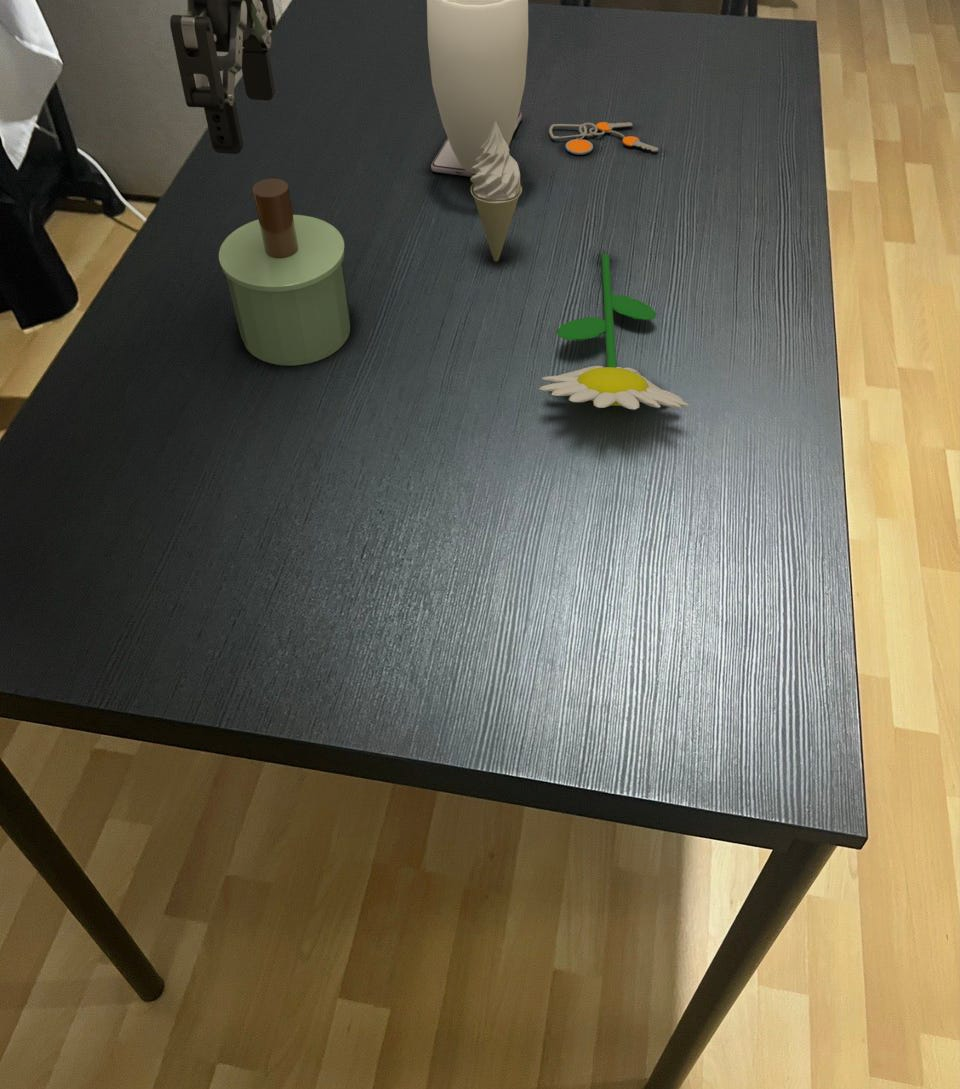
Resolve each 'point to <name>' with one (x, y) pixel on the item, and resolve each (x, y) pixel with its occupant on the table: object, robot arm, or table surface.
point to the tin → (293, 320)
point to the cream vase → (477, 69)
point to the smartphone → (453, 159)
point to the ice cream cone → (496, 189)
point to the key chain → (586, 146)
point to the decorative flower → (609, 360)
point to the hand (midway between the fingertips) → (245, 123)
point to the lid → (280, 245)
